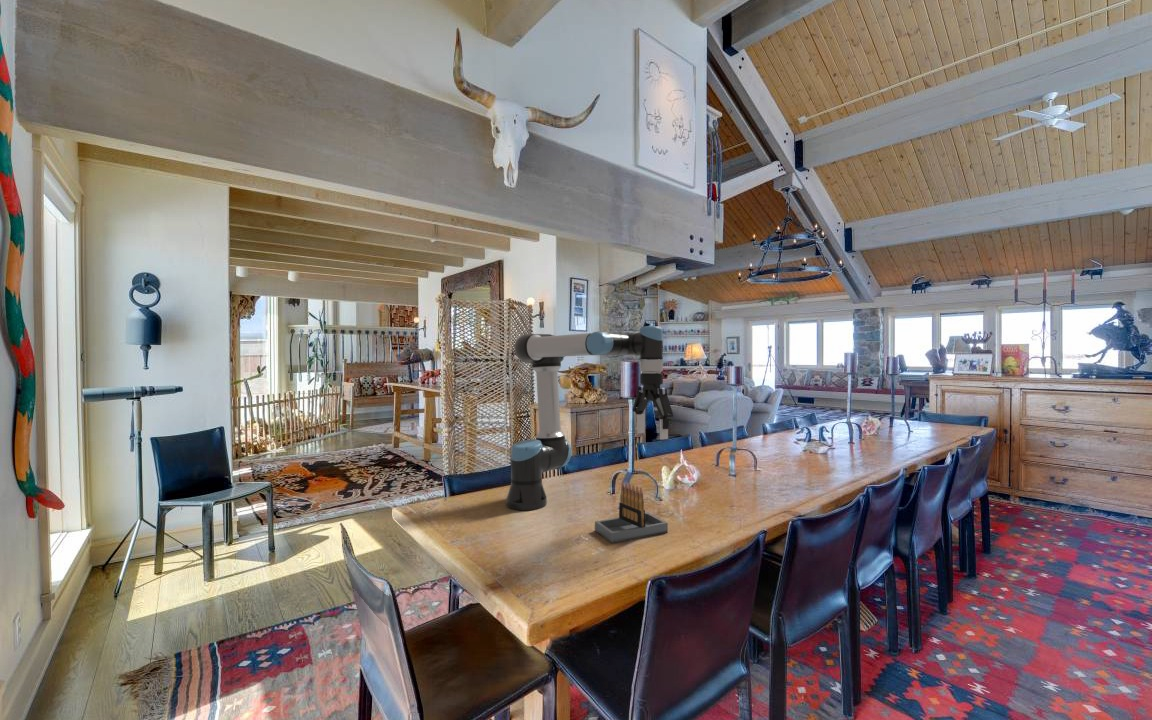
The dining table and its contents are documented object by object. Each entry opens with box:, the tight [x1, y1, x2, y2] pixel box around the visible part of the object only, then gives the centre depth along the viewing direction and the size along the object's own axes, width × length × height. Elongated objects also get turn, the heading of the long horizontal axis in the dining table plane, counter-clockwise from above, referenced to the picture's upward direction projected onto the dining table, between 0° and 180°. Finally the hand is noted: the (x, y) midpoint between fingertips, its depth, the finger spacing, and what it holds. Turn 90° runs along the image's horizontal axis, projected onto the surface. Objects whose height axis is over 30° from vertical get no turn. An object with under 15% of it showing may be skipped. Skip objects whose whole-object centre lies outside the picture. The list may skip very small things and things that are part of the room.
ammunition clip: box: [618, 480, 646, 528], centre depth 145 cm, size 11×2×12 cm, turn 34°
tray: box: [594, 512, 669, 544], centre depth 145 cm, size 11×20×3 cm, turn 115°
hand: (651, 436), depth 153 cm, fingers open, 13 cm apart
